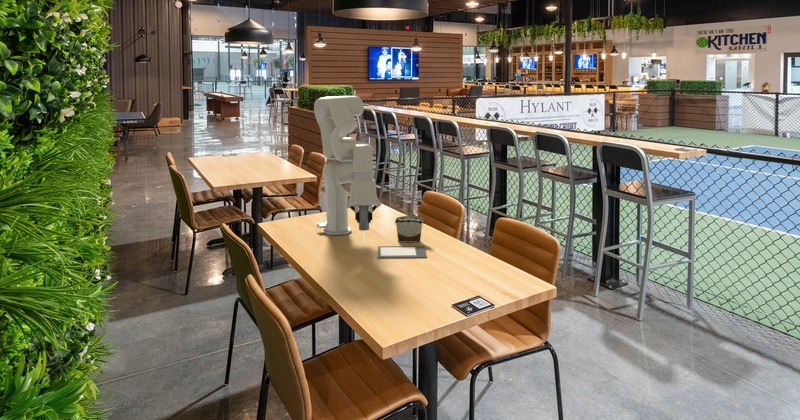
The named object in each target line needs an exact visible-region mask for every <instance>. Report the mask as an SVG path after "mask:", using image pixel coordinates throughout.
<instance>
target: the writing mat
mask: <svg viewBox="0 0 800 420" xmlns="http://www.w3.org/2000/svg"><path fill="white" fill-rule="evenodd" d="M427 258H428V256H427V251H426V248H425V245H391V246H390V245H384V246H383V245H380V246H379V245H378V247H377V259H427Z"/></svg>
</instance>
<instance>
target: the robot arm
mask: <svg viewBox="0 0 800 420" xmlns="http://www.w3.org/2000/svg"><path fill="white" fill-rule="evenodd" d="M313 105H314V106H313V111H314V117H315V119H316V122H317V125H318V126H319V131H320V135H321V143H322V151H323V155H324V157H325V159H327V160H331V161H332V160H334V161H335V160H337V161H335V162H333V161H332V162H328V163H326V164H325V165H324V166H323V168H322V175H323V181H324V187H325V188H324V189H325V209H326V211H325V214H326V215H325V217H326V221H325V222H317V223H316V228H319V229H323V231H322V232H323V233H324V234H326V235H329V236H342V235H343V236H344V235H347V234H348V235H349V234H350V233H352V228H351V227H349V216H348V214H349V212H348V211H349V210H348V208H350V209H351V211H352V212H354V215H355V219H354V220H355V221H356V223H357V224H359V206H369V224H371V222H372V221H373V212H374V211H375V210H377V208H380V207H381V206H382V202H381V201H380V200H379V198H378V196H377V183H376V180H375V179H374V178H373V177H374V174H373V173H374V170H373V169H374V168H373V166H374V165H373V163H374V162H373V147H372V145H371V144H368V142H365V141H357V139H356V138H355V137H349V136H348V137H347V135H349V134H350V133H353V131H354V130H355V129H356V128H357V120H356V118H355V117H359V116H362V115H363V113H364V110H365V109H364V102H363V100H362V99H361V98H360V97H359V96H358V95H338V96H324V97H319V98H317V99H316V100H315V101H314V104H313ZM345 136H346V137H345ZM342 184H350V190H349V191H350V192H349V193H350V196H349V199H348V192H347V190H346V189H345V188H344V187H343V185H342Z"/></svg>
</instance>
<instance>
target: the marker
mask: <svg viewBox="0 0 800 420" xmlns="http://www.w3.org/2000/svg"><path fill="white" fill-rule="evenodd" d="M358 212H359V223H358V230H359V231H369V230H370V223H369V206H358Z"/></svg>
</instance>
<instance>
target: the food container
mask: <svg viewBox="0 0 800 420" xmlns="http://www.w3.org/2000/svg"><path fill="white" fill-rule="evenodd" d="M394 224H395V226H396V235H397V241H398V243H401V242H402V243H403V242H404V243H406V242H407V243H420V242H421V237H422V228H423V225H424V219H423V217H420V216H416V215H402V216H399V217H396V218H395V221H394Z"/></svg>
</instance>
